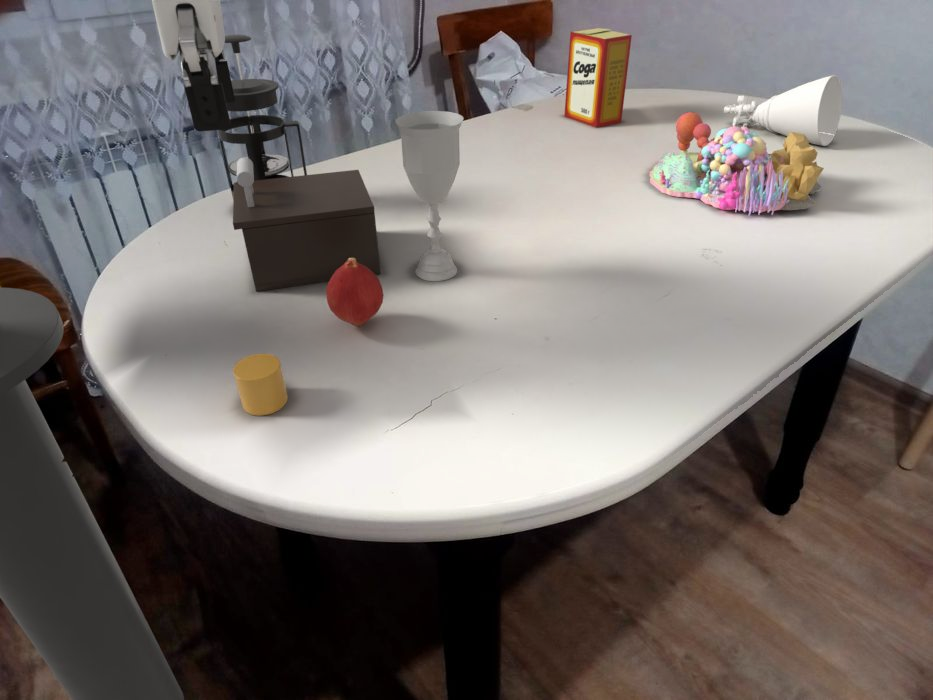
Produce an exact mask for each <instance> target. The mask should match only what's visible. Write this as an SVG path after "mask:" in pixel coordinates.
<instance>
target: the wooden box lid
mask: <svg viewBox="0 0 933 700" xmlns="http://www.w3.org/2000/svg"><path fill="white" fill-rule="evenodd" d="M246 157H247V156H243V157H240V158H238V159H239V160H238V162H237V176H236V182H237V183H235V182H233V184H234V197H232V201H233V202H232V203H233V204H232V207H233V208H232V226H233V227H232V228H233V230H234V231H235V230H237V231H238V230H242V229H246V228H254V227H262V226H270V225H279V224H287V223H295V222H303V221H311V220H320V219H328V218H336V217H344V216H353V215H361V214H369V213H375V206H374V203H373V201H372V199H371V196H370V194H369V191H368V189H367V186H366V184H365V182H364V179H363V177H362V175H361V173H360V170H359V169H351V170H350V169H349V170H341V171H333V172H323V173H313V174H307V175H304V174H303V175H295V176H294V177H292V176H289V177H284V178H275V179H265V180H256V181H254V171H253V162H252V161H251V160H250V159H249V158H246Z"/></svg>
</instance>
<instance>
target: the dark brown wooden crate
mask: <svg viewBox="0 0 933 700" xmlns="http://www.w3.org/2000/svg"><path fill="white" fill-rule="evenodd" d="M241 232H242V236H243V240H244V244H245V249H246V253H247V258H248V263H249V267H250V271H251V275H252V280H253V284H254V289H255V291H256V292H262V291H263V292H264V291H269V290H276V289H277V290H278V289H284V288H290V287H296V286H305V285H312V284H318V283H319V284H320V283H327V282H329V281H330V279H331V277H332V276H333V274H334V272H335V271H336V270H337V269H338V268H340V267H341V266H342V265H344V264H345V263H346V262H347V260H348V259H349V258H355V259H356V261H357V263H359V264H362V265H364V266H366V267H367V268H369V269H370V270H371V271H372V272H373V273H374V274H375V275H376V276H377V275H381V263H380V253H379V242H378V233H377V221H376V213H375V212H374V213H369V214H361V215H353V216H344V217H336V218H328V219H320V220H311V221H303V222H295V223H287V224H279V225H270V226H262V227H254V228H246V229H241Z"/></svg>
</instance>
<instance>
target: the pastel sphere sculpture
mask: <svg viewBox="0 0 933 700" xmlns="http://www.w3.org/2000/svg"><path fill="white" fill-rule="evenodd" d="M675 131H676V139H677V141H678V144H677V148H678V149H679V150H680V153H674V152H665V153H663V154H662V157H661V158H660V159H659V161H658V163H655V165H653V168H652V169H651V170H650V171H649V177H650V180H649V183H650V184H651V185H652V186H653V187H655V188H656V189H657V190H658V191H659V192H661V194H666V195H668V196H670V197H671V196H672V197H677V198H693V199H697V200H701V201H702V202H703V203H704V204H706V205H710V206H712V207H713V208H715V209H720V210H721V211H731V210H734V212H735V213H737V211H738V212H740V211H743V213H747V212H748V217H751V213H758V216H760V214H761V213H764V212H767V213H768V214H769V213H770V212H771V216H773V215H774V212H775V211H780V210H782V211H798V210H806V209H808V208H809V207H813V206H814V205H815V202H814V201H813V200H812V198H811V197H810V196H809V194H810V195H811V194H815V193H816V192H819V191H821V189H822V186H823V185H821V183H819V182H818V180H819V177H820V175H821V174H822V172H823V171H824V167H822V166H819V165H818V163H817V161H815V160H817V157H818V153H819V152H818V151H817V149H816V148H815V147H813V146H810V143H809V142H808V139H807V137H806V136H805V135H804V134H800V133H794V132H791V133H790V134H789V135H788V136H786V138H784V141H783V144H782V147H783V148H780V149H776V150H773V151H772V153H768V151H767V150H768V148H767V143H766V142H765V140H764V139H763V138H762V137H760V136H759V135H758V134H757V133H755V132H750V129H749V127H748V126H747V127H743V128H742V129H741V127H740V126H738V125H737V126H733V125H732V126H730V127H728V128H726V127H725V128H722V129H720V130H718V132H717V133H716V134H715V137H713V138H712V139H710V140H709V138H710V137H711V134H712V129H711V126H710V125H709V124H707V123H705V122H704V121H703V119H702V116H701V115H700V114H698V113H696V112H694V111H688V112H685V113H683V114H681V115H680V116H679V117H678V118H677V120H676V124H675ZM694 139H695V140H696V145H697V147H698V148H699V149H700V150H701V151H699V152H693V151H692V152H691V151H690V152H688V149H689V148H690V147H691V142H692V141H694Z"/></svg>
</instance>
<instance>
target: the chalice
mask: <svg viewBox="0 0 933 700" xmlns="http://www.w3.org/2000/svg"><path fill="white" fill-rule="evenodd" d="M464 119H465V118H464V116H463V115H461V114H459V113H457V112H451V111H443V110H426V111H425V110H423V111H416V112H410V113H407V114H402V115H399V116H398V117H396V119H395V120H394V122H395V125H396V127H397V128H398V130H399V132H400V139H401V153H402V155H401V156H402V166H403V169H404V172H405V174H406V176H407V179H408V181H409V183H410V186H411V187H412V189H413V191H414V192H415V194H416V196H417V198H418V199H419V200H420V202H421V203H422V204H425V205H427V206H428V209H429V212H428V216H427V219H426V221H427V223H428V224H429V226H430V228H429V231H428V232H427V234H426V236H427V237H428V238H429V241H430V248H429V249H427V250H425V251H424V252H423V253H422V255H421V256H420V258H419V261H418V264H417V267H416V269H415V275H416V277H418V278H419V279H421V280H424V281H427V282H441V281H446V280H450V279H451V278H453V277H455V276H456V275H457V273H458V268H457V266H456V265H455V262H454V260H453V258H452V255H451V254H450V253H449V252H448V251H446V250H445V249H443V248H442V247H441V246H440V240H441V239H440V238H441V237H442V236H443V232H442V231H441V230H440V228H439V224H440V222H441V220H442V217H441V216H440V214H439V210H438V208H439V204H442V203H444V202H445V201H446V200H447V197H448V195H449V193H450V191H451V190H452V187H453V186H454V185H453V184H454V183H455V179H456V177H457V173H458V172H459V171H458V170H459V168H460V164H461V161H460V160H461V156H460V128H461V126H462V124H463V121H464Z"/></svg>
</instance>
